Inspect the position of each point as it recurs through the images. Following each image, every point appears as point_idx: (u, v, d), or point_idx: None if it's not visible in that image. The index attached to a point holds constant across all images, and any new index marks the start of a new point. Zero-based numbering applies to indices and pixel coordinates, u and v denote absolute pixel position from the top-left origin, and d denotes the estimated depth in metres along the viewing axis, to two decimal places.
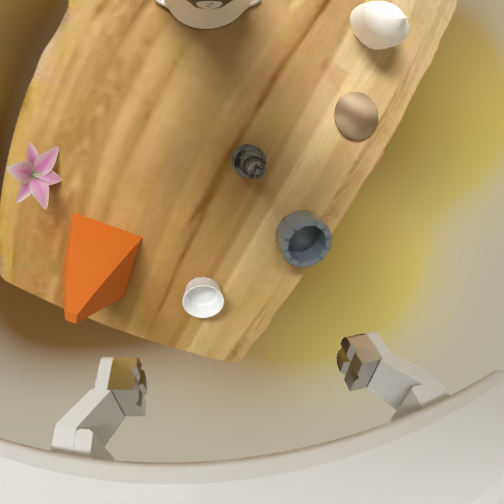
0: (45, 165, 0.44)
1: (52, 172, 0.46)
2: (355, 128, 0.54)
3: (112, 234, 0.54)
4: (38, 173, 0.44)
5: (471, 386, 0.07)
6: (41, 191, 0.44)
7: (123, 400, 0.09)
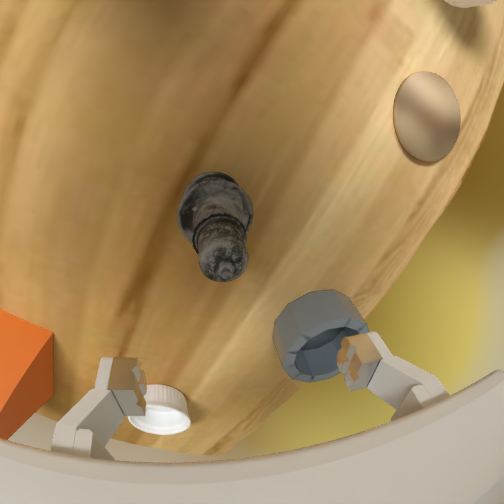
0: None
1: None
2: (426, 140, 0.26)
3: (9, 329, 0.26)
4: None
5: (471, 386, 0.07)
6: None
7: (123, 400, 0.09)
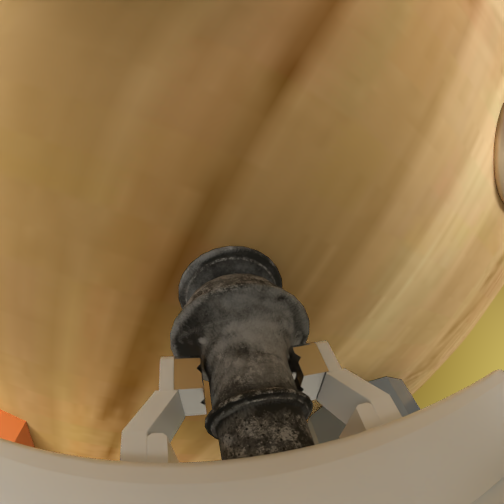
0: None
1: None
2: None
3: None
4: None
5: (471, 386, 0.07)
6: None
7: (188, 399, 0.09)
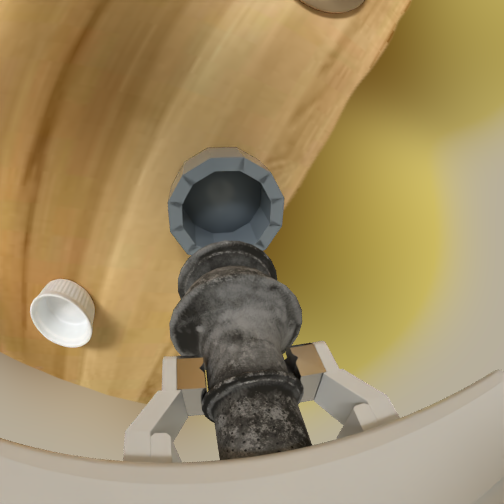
0: None
1: None
2: None
3: None
4: None
5: (471, 386, 0.07)
6: None
7: (191, 399, 0.09)
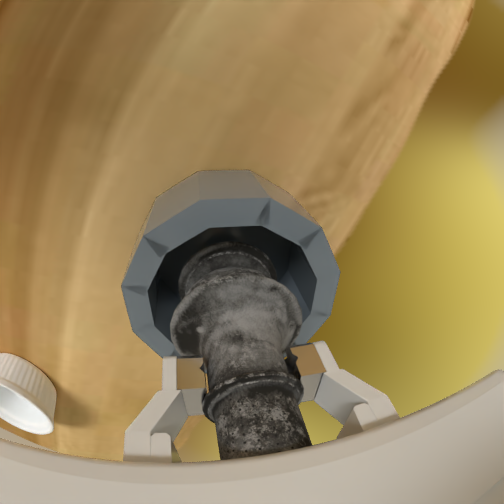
0: None
1: None
2: None
3: None
4: None
5: (471, 386, 0.07)
6: None
7: (191, 399, 0.09)
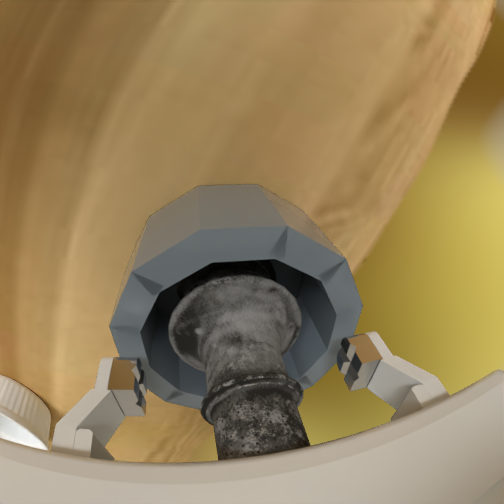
0: None
1: None
2: None
3: None
4: None
5: (471, 386, 0.07)
6: None
7: (123, 400, 0.09)
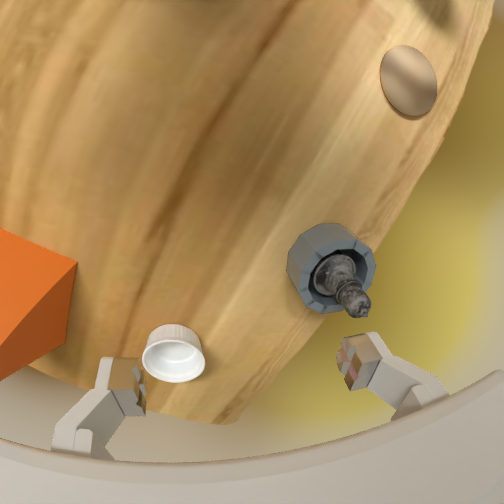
0: None
1: None
2: (409, 98, 0.31)
3: (33, 256, 0.30)
4: None
5: (471, 386, 0.07)
6: None
7: (123, 400, 0.09)
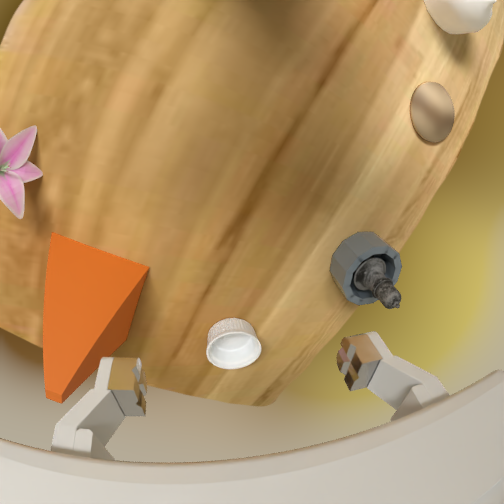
0: (17, 153, 0.27)
1: (28, 163, 0.29)
2: (431, 127, 0.37)
3: (106, 264, 0.37)
4: (8, 167, 0.27)
5: (471, 386, 0.07)
6: (13, 192, 0.27)
7: (123, 400, 0.09)
